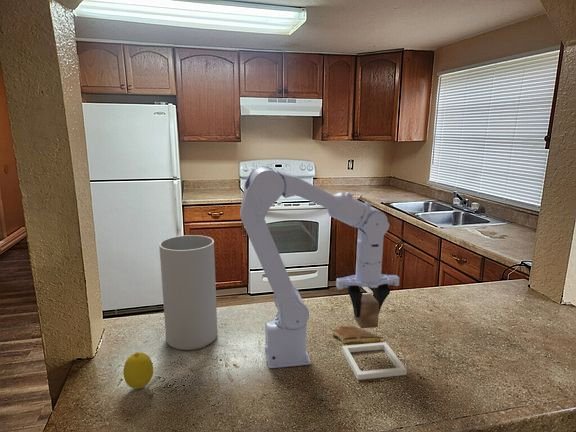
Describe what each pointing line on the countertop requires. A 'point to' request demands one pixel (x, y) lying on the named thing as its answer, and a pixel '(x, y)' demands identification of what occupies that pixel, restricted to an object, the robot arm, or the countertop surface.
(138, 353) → the lemon
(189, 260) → the cylinder vase
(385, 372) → the white flat square frame
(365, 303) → the walnut block
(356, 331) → the shard
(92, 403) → the countertop surface
